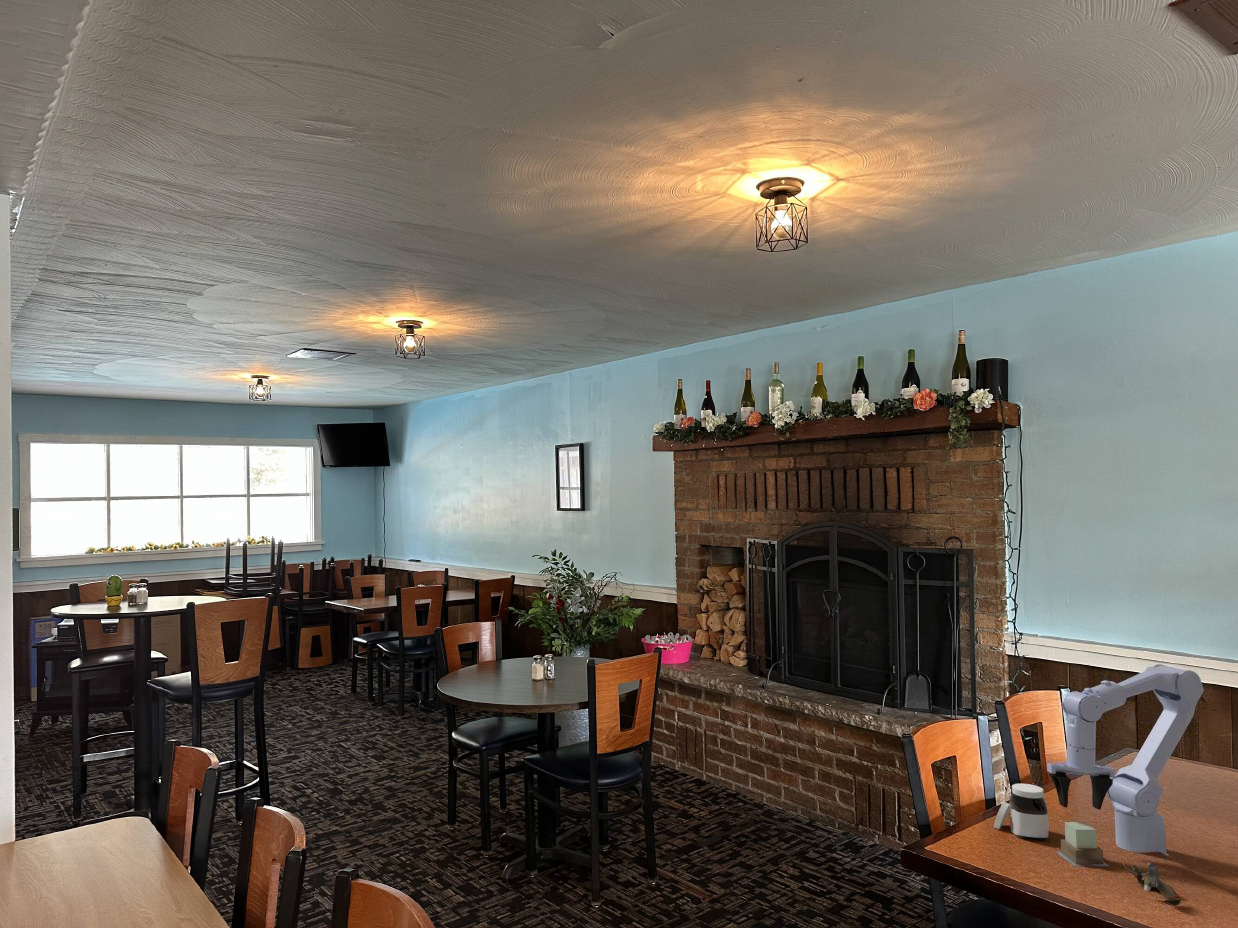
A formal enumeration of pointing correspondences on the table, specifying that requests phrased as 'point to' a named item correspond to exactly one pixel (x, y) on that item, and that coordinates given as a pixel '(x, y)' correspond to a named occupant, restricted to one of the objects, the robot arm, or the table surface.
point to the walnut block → (1082, 854)
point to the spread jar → (1025, 813)
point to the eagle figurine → (1153, 882)
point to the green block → (1080, 835)
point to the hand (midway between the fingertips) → (1080, 806)
